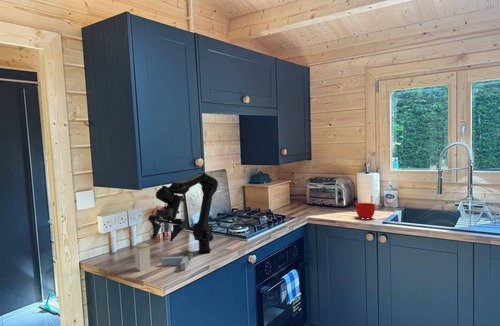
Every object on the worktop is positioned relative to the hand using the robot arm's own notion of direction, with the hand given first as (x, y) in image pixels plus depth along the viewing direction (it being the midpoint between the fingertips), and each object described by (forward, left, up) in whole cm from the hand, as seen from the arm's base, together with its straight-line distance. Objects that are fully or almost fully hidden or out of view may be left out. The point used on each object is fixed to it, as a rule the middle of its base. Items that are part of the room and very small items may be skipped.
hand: (162, 239), depth 161 cm
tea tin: (-5, -11, -15) cm, 19 cm away
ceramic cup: (-91, +121, -15) cm, 152 cm away
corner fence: (-4, +3, -15) cm, 16 cm away
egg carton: (-15, +5, -15) cm, 22 cm away
